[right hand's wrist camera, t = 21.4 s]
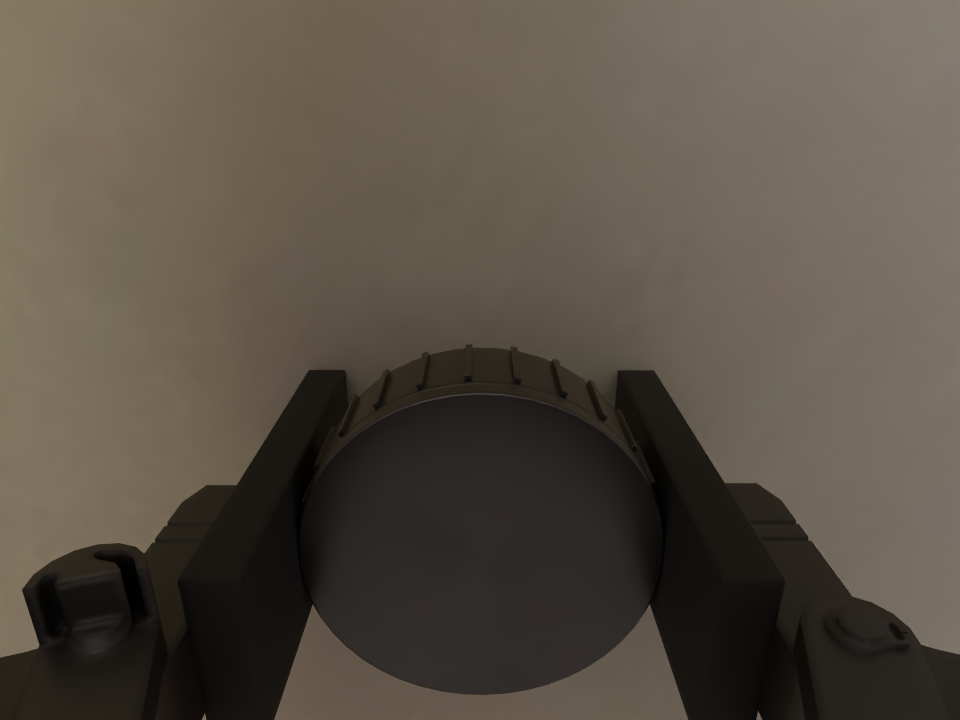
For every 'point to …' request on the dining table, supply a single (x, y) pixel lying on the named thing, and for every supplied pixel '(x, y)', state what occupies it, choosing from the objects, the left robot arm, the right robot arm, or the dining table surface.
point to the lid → (481, 524)
